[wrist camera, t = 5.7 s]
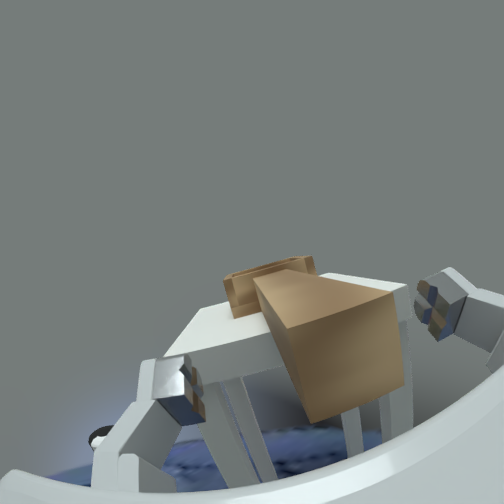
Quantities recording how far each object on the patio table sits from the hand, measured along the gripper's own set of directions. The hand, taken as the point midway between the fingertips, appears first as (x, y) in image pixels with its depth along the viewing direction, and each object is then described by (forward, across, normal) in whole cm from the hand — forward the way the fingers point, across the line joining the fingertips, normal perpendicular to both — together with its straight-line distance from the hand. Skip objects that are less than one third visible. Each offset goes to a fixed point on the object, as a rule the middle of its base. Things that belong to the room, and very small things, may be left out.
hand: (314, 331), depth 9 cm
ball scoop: (+5, 0, +4) cm, 7 cm away
